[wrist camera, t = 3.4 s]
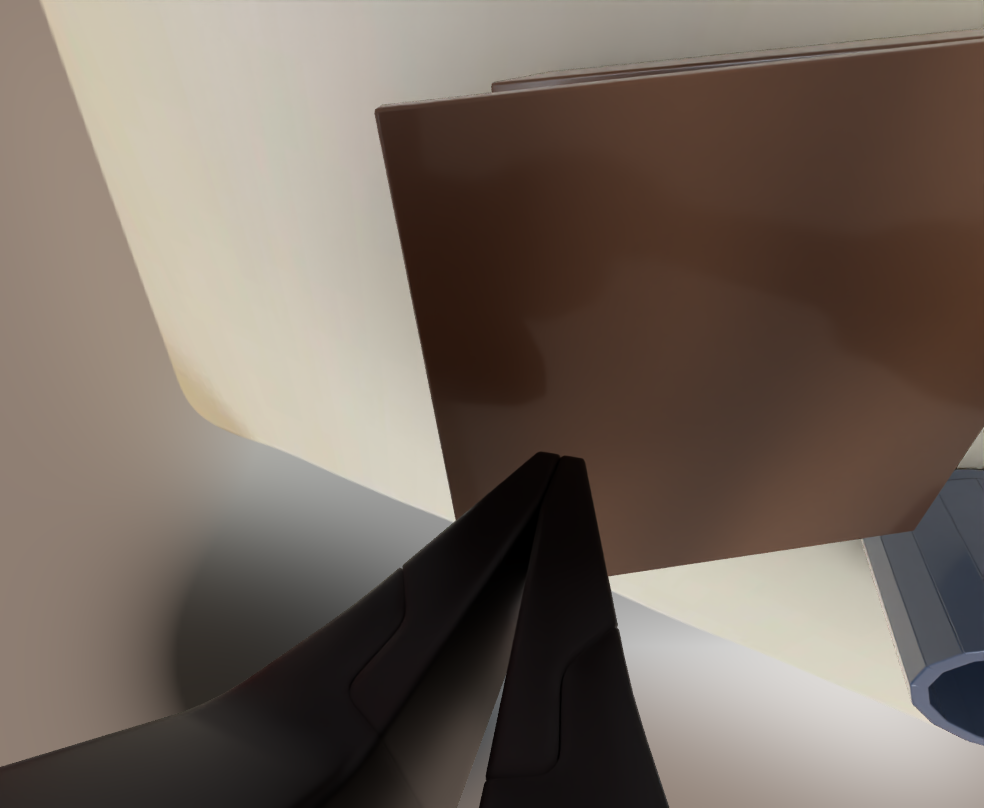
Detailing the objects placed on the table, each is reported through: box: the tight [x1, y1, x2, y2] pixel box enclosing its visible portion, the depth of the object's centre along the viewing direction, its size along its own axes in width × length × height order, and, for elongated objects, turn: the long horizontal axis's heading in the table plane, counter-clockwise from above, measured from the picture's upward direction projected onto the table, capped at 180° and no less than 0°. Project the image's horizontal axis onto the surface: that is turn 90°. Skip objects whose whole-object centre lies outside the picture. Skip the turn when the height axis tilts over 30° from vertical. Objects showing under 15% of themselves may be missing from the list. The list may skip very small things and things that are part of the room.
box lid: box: [375, 38, 984, 576], centre depth 10 cm, size 13×12×1 cm
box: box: [491, 28, 984, 93], centre depth 15 cm, size 12×12×6 cm
